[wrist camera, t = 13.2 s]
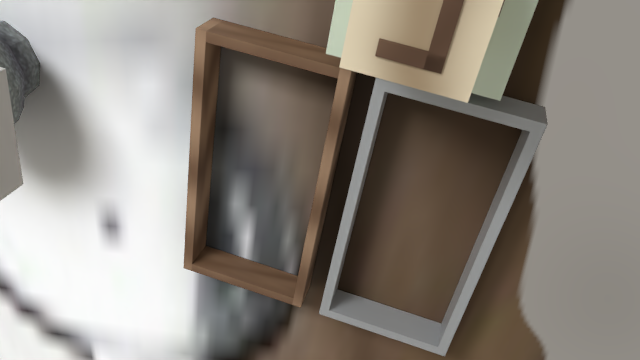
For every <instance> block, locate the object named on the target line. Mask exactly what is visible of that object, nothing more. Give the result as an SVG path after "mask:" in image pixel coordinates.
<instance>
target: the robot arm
mask: <svg viewBox="0 0 640 360" xmlns="http://www.w3.org/2000/svg"><path fill="white" fill-rule="evenodd" d="M22 184H23V179H22V172H21V166H20V159H19V152H18V146H17V139H16V133H15V126H14V120H13V113H12V106H11V100H10V93H9V87H8V80H7V74H6V69H5V68H2V67H0V200H2V199H3V198H5V197H6V196H7V195H9V194H10V193H11V192H13V191H14V190H16V189H17V188H18V187H20V186H21V185H22Z"/></svg>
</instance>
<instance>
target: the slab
mask: <svg viewBox="0 0 640 360" xmlns="http://www.w3.org/2000/svg"><path fill="white" fill-rule="evenodd" d="M538 1H539V0H505V2H504V5H503V7H502V10H501V13H500V16H499V17H498V18H497V21H496V24H495V27H494V30H493V33H492V35H491V38H490V41H489V44H488V47H487V50H486V52H485V55H484V58H483V61H482V64H481V67H480V70H479V72H478V75H477V78H476V81H475V84H474V87H473V89H472V92H471V93H473V94H477V95H480V96H484V97H488V98H491V99H495V100H499V101H500V100H501V98H502V95H503V92H504V90H505V87H506V84H507V82H508V79H509V77H510V74H511V71H512V69H513V66H514V63H515V61H516V58H517V56H518V53H519V50H520V48H521V45H522V43H523V40H524V37H525V35H526V32H527V29H528V27H529V24H530V22H531V19H532V16H533V14H534V11H535V8H536V6H537V3H538ZM352 3H353V0H336V1H335V6H334V12H333V17H332V23H331V28H330V33H329V39H328V44H327V50H326V54H329V55H333V56H336V57H340V58H341V56H342V51H343V46H344V41H345V37H346V32H347V27H348V22H349V17H350V12H351V7H352Z"/></svg>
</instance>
